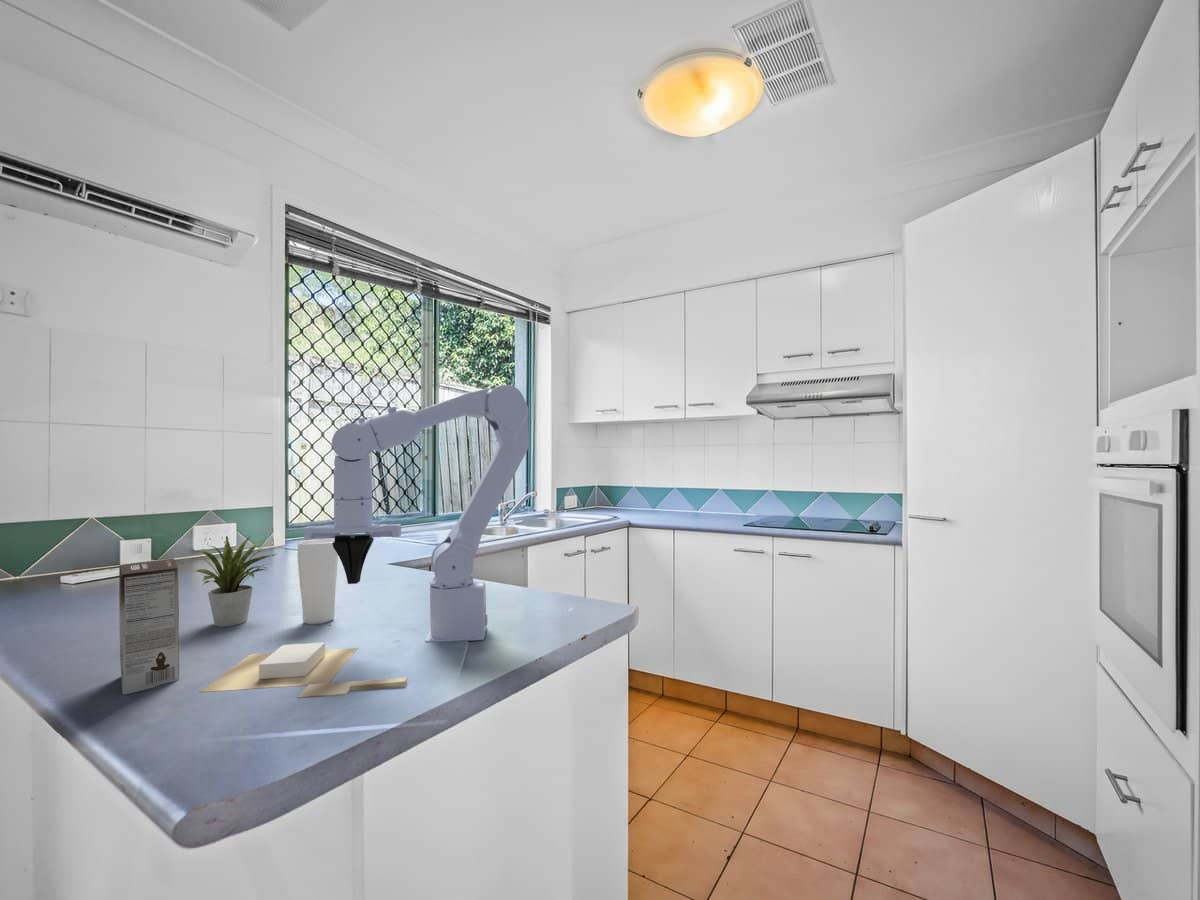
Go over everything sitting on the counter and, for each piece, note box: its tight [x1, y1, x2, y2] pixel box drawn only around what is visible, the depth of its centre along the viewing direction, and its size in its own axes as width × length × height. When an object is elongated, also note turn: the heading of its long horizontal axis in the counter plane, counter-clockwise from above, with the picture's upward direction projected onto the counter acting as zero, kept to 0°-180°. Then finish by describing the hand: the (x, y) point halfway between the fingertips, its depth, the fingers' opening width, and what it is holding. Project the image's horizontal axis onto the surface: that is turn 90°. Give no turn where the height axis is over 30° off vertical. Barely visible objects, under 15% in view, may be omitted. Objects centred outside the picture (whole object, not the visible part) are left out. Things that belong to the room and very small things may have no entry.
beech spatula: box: [296, 676, 408, 699], centre depth 75 cm, size 13×4×1 cm, turn 98°
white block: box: [259, 642, 326, 679], centre depth 82 cm, size 2×8×6 cm
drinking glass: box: [297, 538, 339, 626], centre depth 106 cm, size 7×7×15 cm
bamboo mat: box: [199, 647, 359, 693], centre depth 82 cm, size 16×14×1 cm
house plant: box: [193, 535, 278, 628], centre depth 105 cm, size 14×14×16 cm
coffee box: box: [118, 558, 180, 696], centre depth 80 cm, size 9×6×16 cm
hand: (353, 582), depth 92 cm, fingers closed
